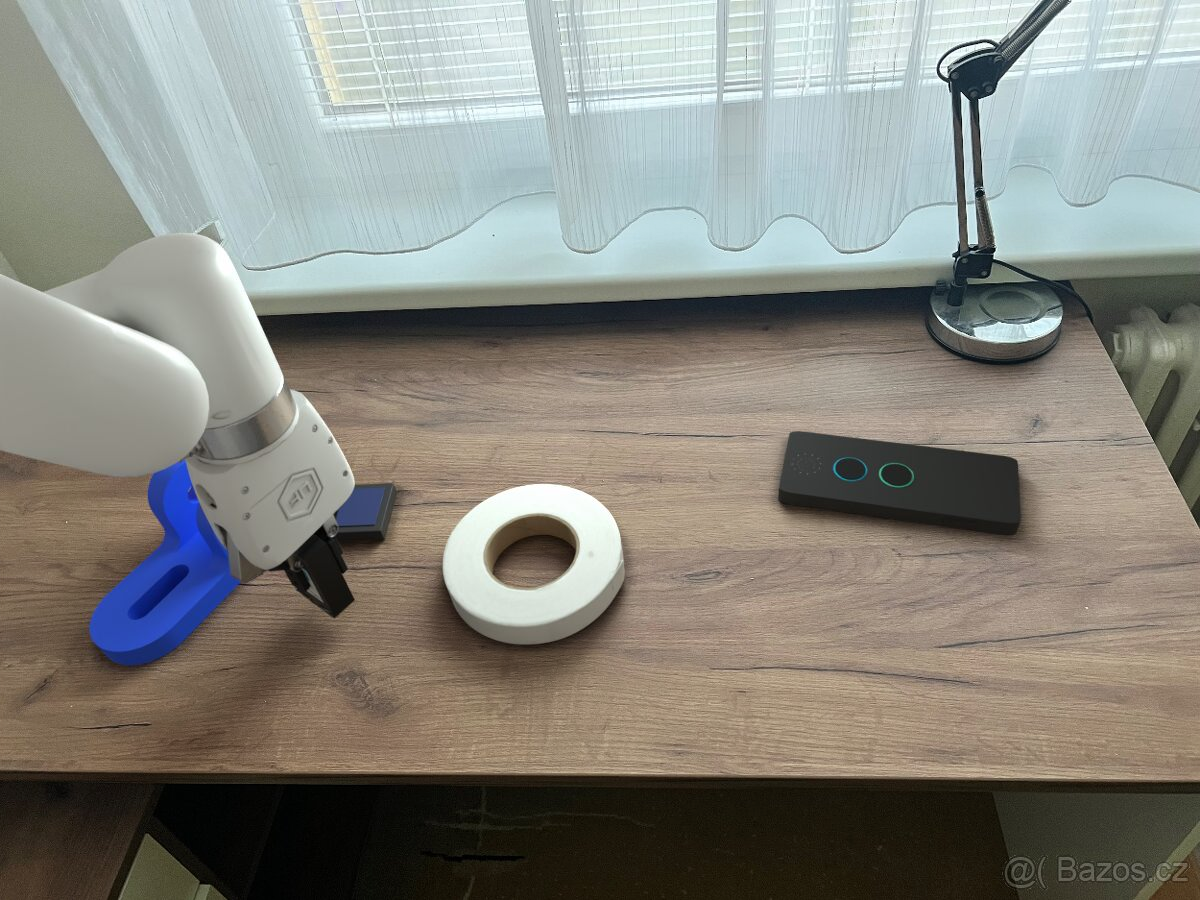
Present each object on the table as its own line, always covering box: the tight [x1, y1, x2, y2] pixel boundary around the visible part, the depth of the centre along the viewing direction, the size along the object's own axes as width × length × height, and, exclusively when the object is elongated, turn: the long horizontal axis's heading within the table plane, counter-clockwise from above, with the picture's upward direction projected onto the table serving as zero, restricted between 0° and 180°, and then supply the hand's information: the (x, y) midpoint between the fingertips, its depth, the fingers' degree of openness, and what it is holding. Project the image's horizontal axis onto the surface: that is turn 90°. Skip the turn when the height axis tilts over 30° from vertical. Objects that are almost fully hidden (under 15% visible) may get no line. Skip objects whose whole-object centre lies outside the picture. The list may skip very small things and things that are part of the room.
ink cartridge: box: [295, 534, 356, 619], centre depth 71 cm, size 5×2×8 cm, turn 51°
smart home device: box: [777, 430, 1022, 536], centre depth 78 cm, size 8×2×20 cm
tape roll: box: [442, 483, 626, 645], centre depth 75 cm, size 16×15×3 cm
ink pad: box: [335, 482, 398, 543], centre depth 82 cm, size 9×6×2 cm, turn 88°
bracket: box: [89, 460, 241, 666], centre depth 76 cm, size 18×8×9 cm, turn 151°
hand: (322, 575), depth 72 cm, fingers closed on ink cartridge
